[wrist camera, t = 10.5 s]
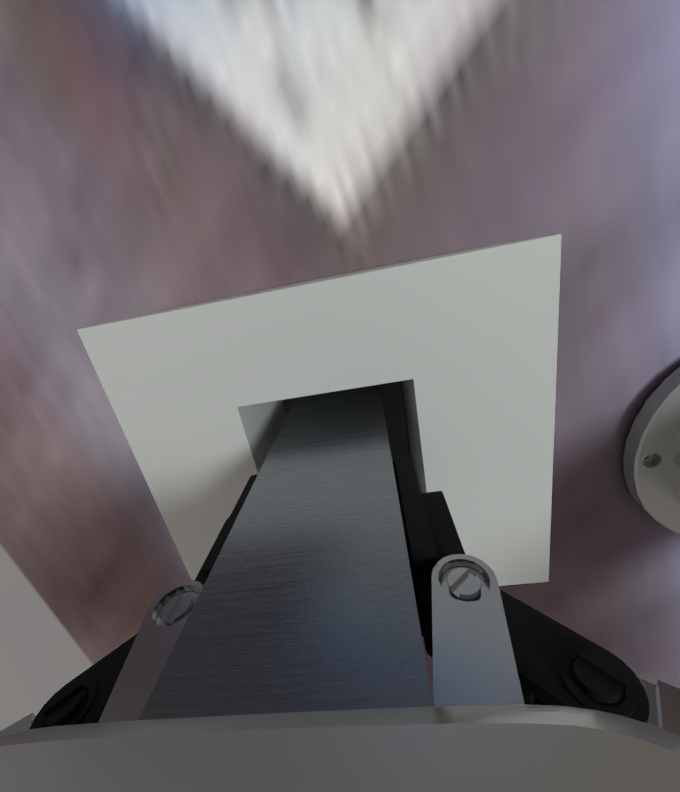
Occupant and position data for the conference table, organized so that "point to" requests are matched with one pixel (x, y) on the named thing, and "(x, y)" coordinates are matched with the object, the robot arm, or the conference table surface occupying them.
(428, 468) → the well block
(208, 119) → the conference table surface
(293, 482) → the bracket bar
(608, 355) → the conference table surface
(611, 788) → the robot arm
